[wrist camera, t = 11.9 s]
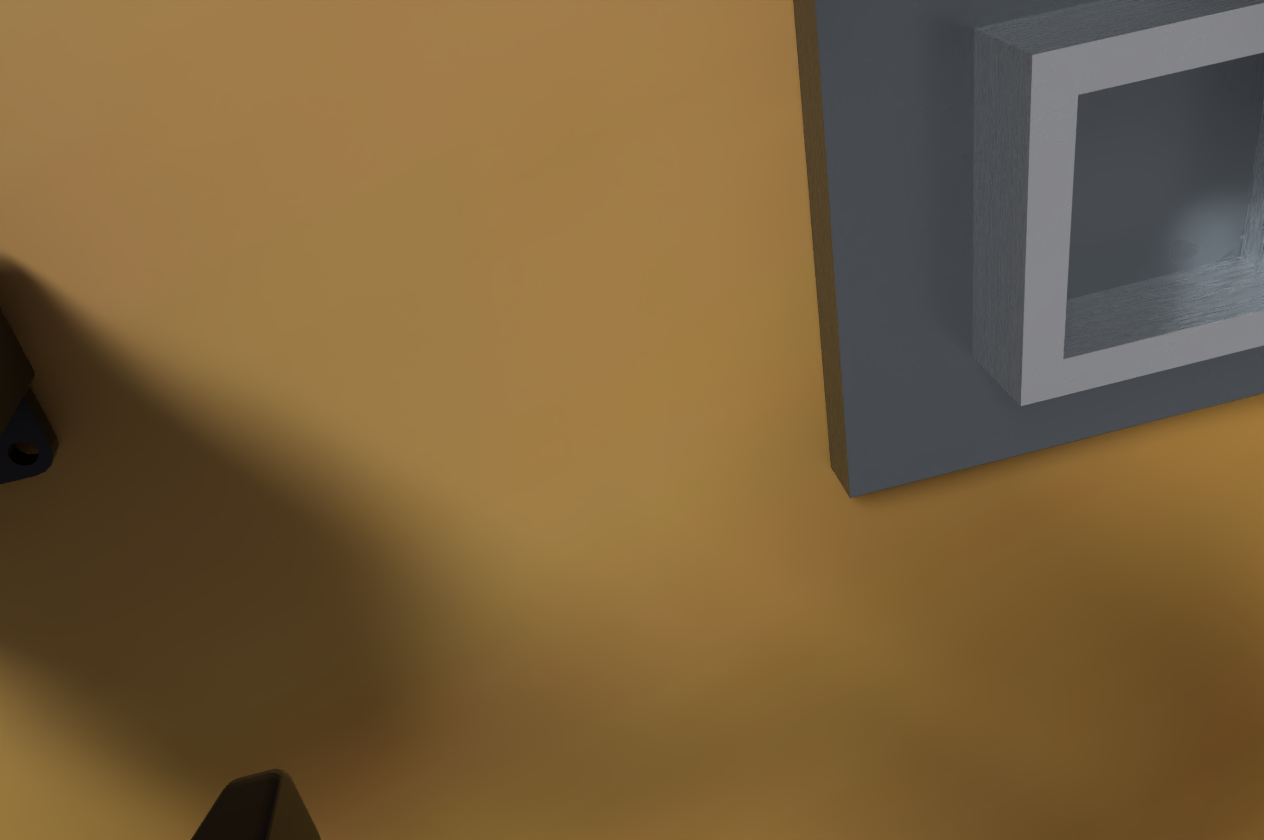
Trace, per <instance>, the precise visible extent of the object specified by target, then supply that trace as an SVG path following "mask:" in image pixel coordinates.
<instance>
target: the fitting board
mask: <svg viewBox="0 0 1264 840" xmlns="http://www.w3.org/2000/svg"><path fill="white" fill-rule="evenodd" d="M793 2H794V14H795V26H796V39H797V51H798V64H799V76H800V88H801V101H802V113H803V126H804V138H805V150H806V163H807V175H808V188H809V200H810V212H811V225H812V237H813V250H814V262H815V274H816V287H817V299H818V312H819V324H820V336H821V349H822V361H823V374H824V386H825V398H826V411H827V423H828V436H829V448H830V461H831V468H832V470H833V471H834V473H835V474H836V476H837V478H838V479H839V481H840V482H841V484H842V486H843V487H844V489H845V490H846V492H847V494H848V495H849V497H850V498H852V497H856V496H860V495H864V494H868V493H871V492H875V491H879V490H883V489H887V488H891V487H895V486H899V485H903V484H907V483H911V482H915V481H919V480H923V479H927V478H931V477H935V476H938V475H942V474H946V473H950V472H954V471H958V470H962V469H966V468H970V467H974V466H978V465H982V464H986V463H990V462H994V461H998V460H1002V459H1006V458H1009V457H1013V456H1017V455H1021V454H1025V453H1029V452H1033V451H1037V450H1041V449H1045V448H1049V447H1053V446H1057V445H1061V444H1065V443H1069V442H1073V441H1076V440H1080V439H1084V438H1088V437H1092V436H1096V435H1100V434H1104V433H1108V432H1112V431H1116V430H1120V429H1124V428H1128V427H1132V426H1136V425H1140V424H1143V423H1147V422H1151V421H1155V420H1159V419H1163V418H1167V417H1171V416H1175V415H1179V414H1183V413H1187V412H1191V411H1195V410H1199V409H1203V408H1207V407H1211V406H1214V405H1218V404H1222V403H1226V402H1230V401H1234V400H1238V399H1242V398H1246V397H1250V396H1254V395H1258V394H1262V393H1264V0H793Z"/></svg>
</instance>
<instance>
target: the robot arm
mask: <svg viewBox="0 0 1264 840" xmlns="http://www.w3.org/2000/svg"><path fill="white" fill-rule="evenodd" d="M33 378H34V371H33V368H32V366H31V365H30V363H29V361H28V359H27V357H26V355H25V353H24V351H23V350H22V348H21V346H20V344H19V342H18V340H17V338H16V336H15V334H14V333H13V331H12V329H11V327H10V325H9V323H8V321H7V319H6V318H5V316H4V314H3V312H2V310H1V308H0V484H3V483H8V482H12V481H16V480H20V479H24V478H29V477H33V476H36V475H39V474H41V473H43V472H45V471H46V470H47V469H48V468H49V467H50V466H51V465H52V462H53V460H54V458H55V456H56V454H57V451H58V446H59V443H58V440H57V436H56V434H55V432H54V431H53V429H52V427H51V425H50V423H49V421H48V419H47V418H46V416H45V414H44V412H43V410H42V408H41V406H40V405H39V403H38V401H37V399H36V397H35V395H34V393H33V392H32V390H31V388H30V386H29V385H30V383H31V382H32V380H33ZM16 442H26V443H29V444H31V445H33V446H34V447H35V448H36V449H37V450H38V453H36V454H27V453H24V452H22V451H20V450H19V449H18V448H17V447H16V446H15V443H16ZM191 840H321V839H320V836H319V833H318V831H317V829H316V827H315V825H314V823H313V821H312V819H311V817H310V815H309V813H308V811H307V809H306V807H305V805H304V803H303V801H302V799H301V797H300V795H299V793H298V791H297V789H296V786H295V784H294V782H293V781H292V779H291V777H290V776H289V775H288V774H287V773H286V772H285V771H284V770H282V769H272V770H268V771H264V772H261V773H257V774H253V775H249V776H245V777H242V778H238V779H235V780H233V781H232V782H230V783H229V784H228V785H227V786H226V787H225V788H224V790H223V791H222V792H221V794H220V796H219V797H218V799H217V800H216V802H215V803H214V805H213V806H212V808H211V809H210V811H209V812H208V814H207V815H206V817H205V819H204V820H203V822H202V823H201V825H200V826H199V828H198V829H197V831H196V832H195V834H194V835H193V837H192V838H191Z"/></svg>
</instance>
